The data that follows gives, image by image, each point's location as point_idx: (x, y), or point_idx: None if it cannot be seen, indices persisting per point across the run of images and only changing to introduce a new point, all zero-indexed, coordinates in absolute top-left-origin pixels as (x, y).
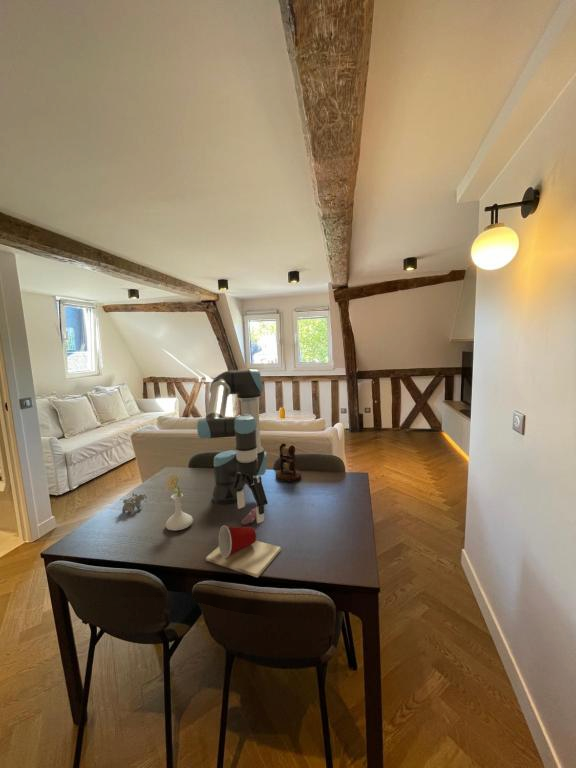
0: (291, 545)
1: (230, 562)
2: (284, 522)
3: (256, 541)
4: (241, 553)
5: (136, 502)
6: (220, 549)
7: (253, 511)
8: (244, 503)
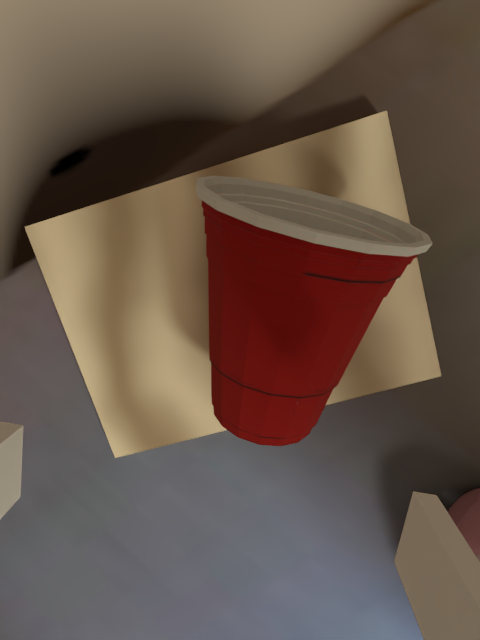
0: (111, 506)
1: None
2: (292, 626)
3: None
4: None
5: None
6: (352, 206)
7: None
8: (406, 590)
